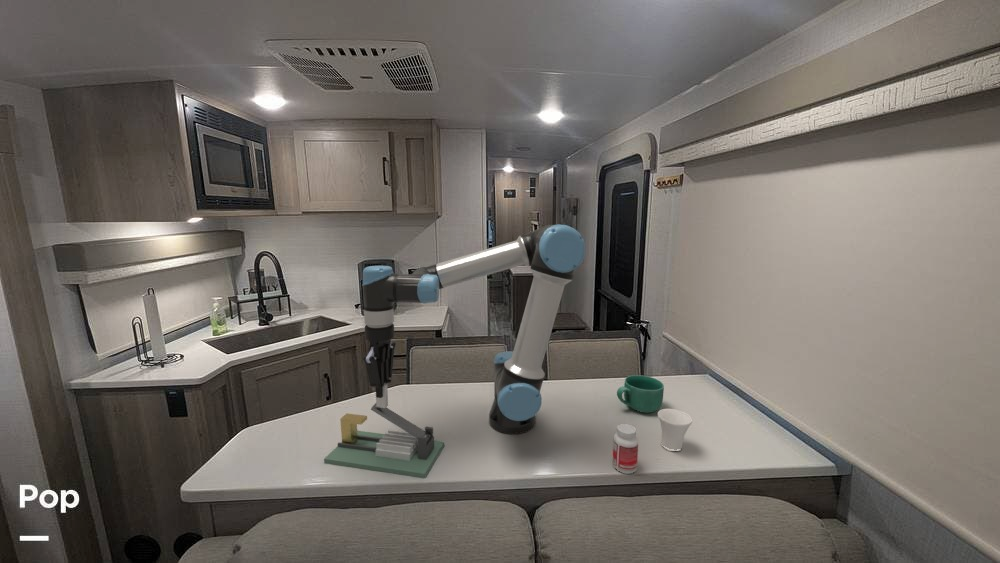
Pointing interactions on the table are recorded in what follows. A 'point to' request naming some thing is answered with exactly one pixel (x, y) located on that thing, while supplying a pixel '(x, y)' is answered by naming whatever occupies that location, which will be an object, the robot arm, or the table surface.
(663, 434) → the cup
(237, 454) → the table surface
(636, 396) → the mug
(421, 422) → the table surface
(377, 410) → the strap
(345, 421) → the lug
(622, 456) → the pill bottle
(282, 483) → the table surface
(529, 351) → the robot arm
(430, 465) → the board
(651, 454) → the table surface
